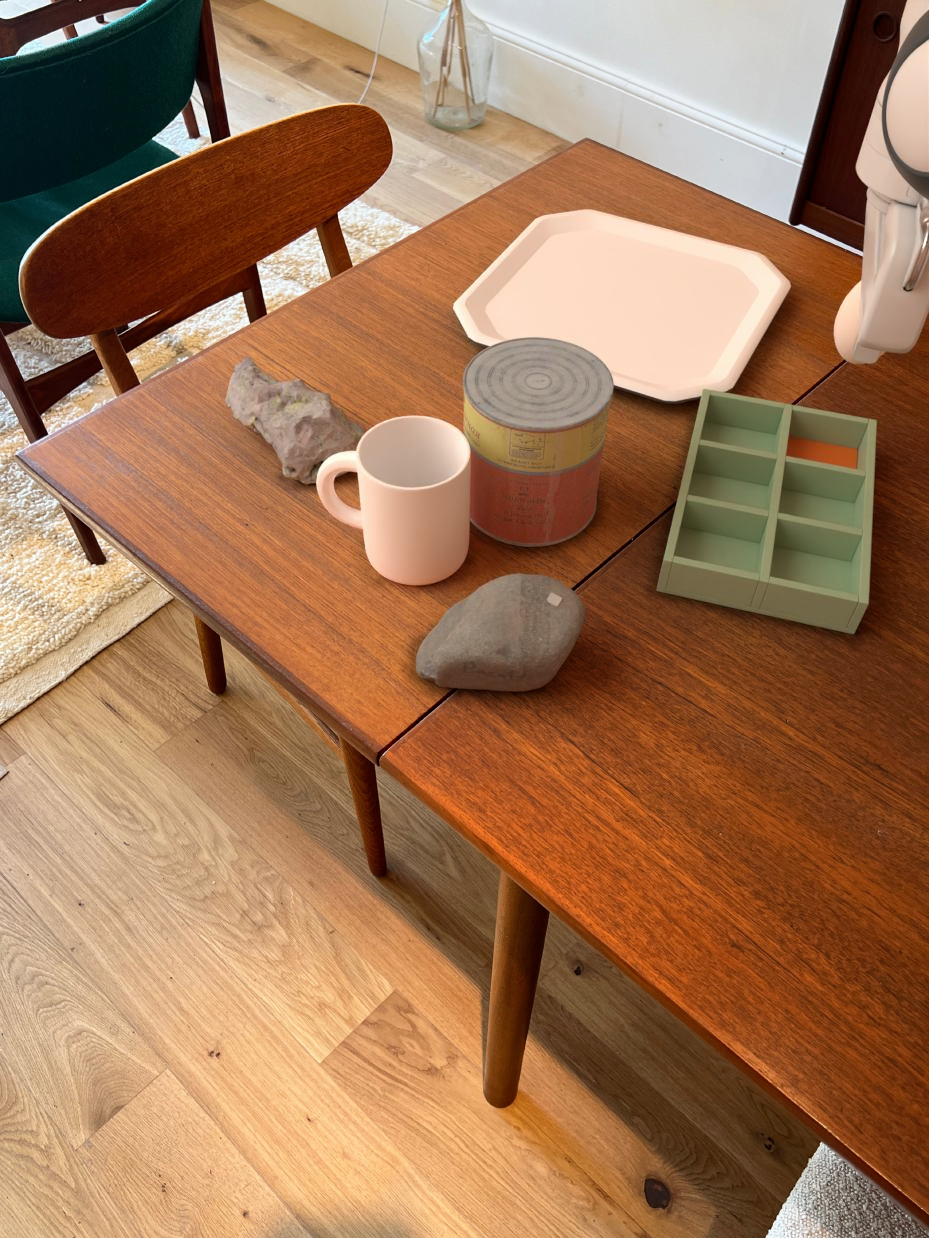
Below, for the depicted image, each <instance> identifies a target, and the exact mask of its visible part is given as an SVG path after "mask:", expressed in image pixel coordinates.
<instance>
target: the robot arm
mask: <svg viewBox="0 0 929 1238" xmlns="http://www.w3.org/2000/svg"><path fill="white" fill-rule="evenodd" d="M870 115H871V116H870V117H869V122H868V125H867V128H866V131H865V135H864V137H863V141H862V144H861V147H860V150H859V154H858V156H857V160H856V163H855V172H856V174H857V176H858V178H859V179H860V180H861V182H862V183H863V184H864V185H865V186H866V187H867V190H866V198H867V200H866V205H865V219H864V234H863V235H864V237H863V250H862V264H861V278H860V279H861V280H860V281H861V294H860V309H859V323H858V334H857V337H856V340H855V342H854V345H853V355H852V356H853V359H854V360H855V361H857V362H863V363H865V364H869V365H871V364H875V363H876V362H878V360H879V358H880V357H879V355H880V353H881V351H885V353H892V354H899V355H900V354H901V355H902V354H903V355H904V354H907V353H908V354H909V352H911V350H912V349H913V348H914V347H915V345H916V344H917V341H918V340H919V338H920V335H921V333H922V330H923V328H924V325H925V322H926V320H927V318H928V314H929V0H906V3H905V6H904V10H903V13H902V16H901V21H900V26H899V45H898V50H897V53H896V57H895V59H894V61H893V63H892V65H891V68H890V70H889V72H888V73H887V75H886V76H885V78H884V79H883V81H882V83H881V85H880V87H879V89H878V93H877V95H876V99H875V102H874V106H873V109H872V112H871V114H870Z"/></svg>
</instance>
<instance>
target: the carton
mask: <svg viewBox="0 0 929 1238" xmlns="http://www.w3.org/2000/svg"><path fill="white" fill-rule="evenodd" d="M877 426H878V420H877V419H874V418H873V419H872V418H867V417H863V416H862V417H861V416H856V415H850V414H844V413H840V412H835V411H829V410H823V409H817V408H812V407H806V406H802V405H795V404H790V403H784V402H779V401H775V400H769V399H765V398H758V397H752V396H746V395H742V394H735V393H730V392H728V393H725V392H720V391H714V390H708V389H703V392H702V396H701V399H699V405H698V409H697V413H696V418H695V422H694V426H693V431H692V434H691V439H690V442H689V443H690V444H689V447H688V452H687V455H686V461H685V465H684V468H683V473H682V478H681V482H680V486H679V491H678V495H677V499H676V502H675V503H676V504H675V507H674V512H673V517H672V520H671V525H670V528H669V530H670V531H669V533H668V537H667V543H666V547H665V550H664V554H663V558H662V565H661V568H660V573H659V575H658V580H657V585H656V589H655V591H656V592H659V593H663V594H668V595H673V596H677V597H682V598H686V599H691V600H695V601H700V602H704V603H709V604H714V605H717V606H722V607H727V608H732V609H736V610H740V611H746V612H749V613H754V614H759V615H764V616H768V617H772V618H777V619H781V620H786V621H791V622H795V623H800V624H805V625H808V626H813V627H818V628H823V629H827V630H830V631H831V630H832V631H836V632H841V633H846V634H850V635H855V633H856V631H857V629H858V627H859V625H860V623H861V621H862V619H863V617H864V614H865V613H866V610H867V608H868V607H869V605H870V587H871V586H870V584H871V565H872V564H871V563H872V562H871V561H872V543H873V541H872V539H873V518H874V515H873V514H874V496H875V475H876V474H875V472H876V450H877V429H878V428H877Z"/></svg>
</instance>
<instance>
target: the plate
mask: <svg viewBox="0 0 929 1238" xmlns="http://www.w3.org/2000/svg"><path fill="white" fill-rule="evenodd" d="M791 289H792V285H791V281H790V280H789V279H788V278H787V277H786V276H785V275H784V274H783V273H782V272H781V271H780V269H778V268H777V267H776V265H775V264H773V262H772V261H771V260H770V259H769V258H768V257H767V256H765V255H764V254H762V253H760V252H759V251H756V250H755V251H754V250H751V249H747V248H743V247H739V246H735V245H732V244H727V243H723V242H720V241H716V240H712V239H708V238H704V237H700V236H697V235H692V234H689V233H684V232H682V231H677V230H674V229H669V228H665V227H661V226H658V225H654V224H650V223H647V222H643V221H640V220H639V221H638V220H634V219H630V218H627V217H622V216H619V215H615V214H611V213H608V212H604V211H600V210H596V209H591V208H590V209H589V208H588V209H587V208H583V209H577V210H570V211H564V212H558V213H556V212H555V213H550V214H544V215H541V216H539V217H536V218H534V220H533V221H532V222H531V223H529V225H528V226H527V227H526V228H525V229H524V230H523V231H522V232H521V233H520V234H519V235H518V236H517V237H516V238H515V240H513V242H511V243H510V244H509V245H508V247H506V248H505V250H504V251H502V253H501V254H500V255H499V256H498V257H496V259H495V260H494V261H493V262H492V263H491V264H490V265H489V266H488V267H487V268H486V269H485V270H484V272H483V273H482V274H481V275H479V276H478V278H477V279H476V280H475V281H474V282H473V283H472V284H471V285H470V286H469V287H468V288H467V289H466V290H465V291H464V292H463V293H462V294H461V295H460V296H459V297H458V298H457V299H456V300H455V302H453V306H452V311H453V313H454V315H455V318H456V319H457V321H458V324H459V325H460V326H461V328H462V330H463V332H464V334H465V336H466V337H467V339H468V341H469V342H471V343H472V344H474V345H475V346H479V347H481V348H485V349H486V348H488V347H490V346H492V345H494V344H497V343H500V342H503V341H507V340H512V339H518V338H528V337H539V338H551V339H557V340H561V341H565V342H569V343H572V344H575V345H577V346H580V347H582V348H584V349H586V350H588V351H589V352H591V353H593V354H594V355H595V356H597V357H598V358H599V359H600V360H601V361H602V362H603V363H604V364H605V365H606V366H607V368H608V369H609V371H610V373H611V375H612V378H613V382H614V389H615V390H616V389H617V390H619V391H623V392H626V393H629V394H632V395H635V396H639V397H641V398H645V399H647V400H651V401H654V402H658V403H659V404H665V405H666V404H667V405H677V404H682V403H687V402H693V401H697V400H701V396H702V392H703V389H708V390H714V391H720V392H725V393H730V392H731V391H732V390H734V388H735V386H736V385H737V383H738V381H739V379H740V377H741V376H742V374H743V372H744V371H745V369H746V367H747V365H748V364H749V362H750V360H751V359H752V357H753V355H754V353H755V352H756V350H757V348H758V347H759V345H760V343H761V341H762V340H763V337H764V336H765V334H766V332H767V331H768V330H769V327H770V326H771V324H772V322H773V320H774V319H775V317H776V315H777V313H778V312H779V310H780V308H781V306H782V305H783V303H784V301H785V299H786V298H787V297H788V294H789V292H790V291H791Z"/></svg>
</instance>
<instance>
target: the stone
mask: <svg viewBox="0 0 929 1238" xmlns="http://www.w3.org/2000/svg"><path fill="white" fill-rule="evenodd" d="M585 619H586V606H585V604H584V602H583V600H582V599H581V597H580V596H579V595H578V594H577V593H576V592H575V591H574V590H573V589H572V588H571V587H569V586H568V585H566V584H565V583H563V582H561V581H560V580H558V579H556V578H555V577H551V576H547V575H545V574H536V573H535V574H525V573H520V572H517V573H510V574H505V575H503V576H499V577H497V578H494V579H492V580H489V581H487V582H486V583H484V584H482V585H481V586H479V587H478V588H476V590H474V591H473V592H471V593H470V594H469V595H468V596H466V597H465V598H463V599H462V600H459V601H458V602H456V603H455V604H453V605H452V606H450V607H449V608H448V609H447V610H446V611H445V612H444V614H443V615H442V617H441V618H440V620H439V621H438V623H436V625H435V626H433V628H432V629H431V630H430V631H429V632H428V633H427V635H426V636H425V638H424V639H423V640H422V642H421V644H420V646H419V647H418V650H417V653H416V657H415V670H416V671H415V672H416V674H417V675H418V676H419V677H420V678H421V679H422V680H425V681H428V682H433V683H435V685H437V686H438V687H441V688H449V689H450V688H451V689H460V690H461V689H463V690H483V691H484V690H485V691H487V690H488V691H494V692H527V691H531V690H532V691H533V690H537V689H540V688H543V687H544V686H546V685H548V684H549V683H550V682H551V681H552V680H553V679H554V677H555V676H556V675H557V673H558V672H559V670H560V669H561V667H562V666H563V664H564V663H565V661H566V660H567V658H568V657H569V655H570V653H571V652H572V651H573V648H574V646H575V645H576V642H577V640H578V638H579V636H580V634H581V631H582V629H583V626H584V623H585Z"/></svg>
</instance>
